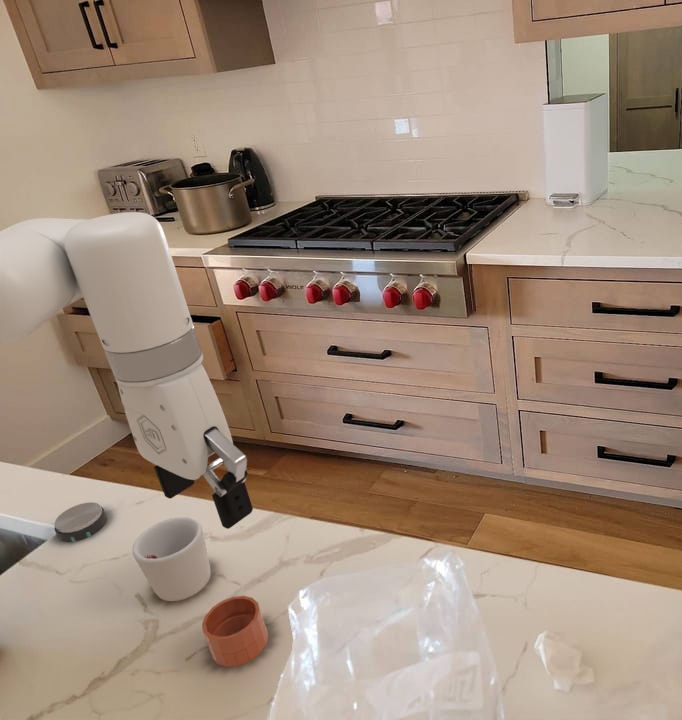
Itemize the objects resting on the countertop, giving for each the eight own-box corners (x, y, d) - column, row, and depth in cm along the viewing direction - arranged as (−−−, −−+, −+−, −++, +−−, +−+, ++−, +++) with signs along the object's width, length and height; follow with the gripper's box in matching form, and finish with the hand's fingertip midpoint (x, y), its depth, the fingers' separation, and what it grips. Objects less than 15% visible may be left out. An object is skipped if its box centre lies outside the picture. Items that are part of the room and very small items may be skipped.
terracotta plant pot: (217, 680, 73) (205, 648, 70) (211, 641, 78) (199, 609, 75) (274, 657, 75) (263, 624, 73) (264, 620, 80) (254, 588, 77)
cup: (152, 563, 90) (133, 516, 87) (214, 543, 93) (198, 496, 89) (151, 620, 81) (130, 570, 78) (220, 596, 84) (203, 546, 80)
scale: (58, 552, 94) (50, 536, 93) (61, 526, 99) (54, 511, 98) (108, 536, 96) (101, 520, 95) (109, 511, 102) (103, 496, 100)
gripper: (67, 353, 63) (128, 500, 71) (173, 392, 54) (230, 557, 61) (141, 323, 68) (191, 462, 76) (249, 353, 59) (293, 509, 67)
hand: (208, 504), depth 69 cm, fingers open, 9 cm apart
